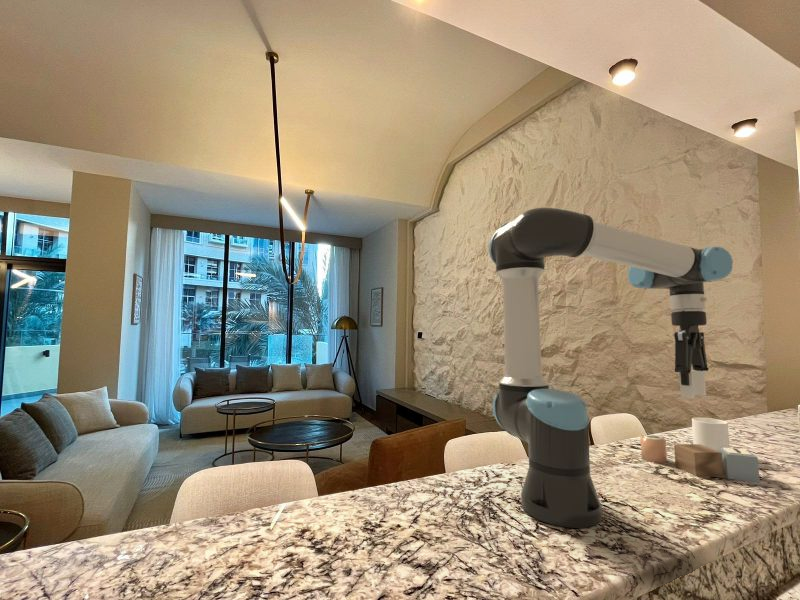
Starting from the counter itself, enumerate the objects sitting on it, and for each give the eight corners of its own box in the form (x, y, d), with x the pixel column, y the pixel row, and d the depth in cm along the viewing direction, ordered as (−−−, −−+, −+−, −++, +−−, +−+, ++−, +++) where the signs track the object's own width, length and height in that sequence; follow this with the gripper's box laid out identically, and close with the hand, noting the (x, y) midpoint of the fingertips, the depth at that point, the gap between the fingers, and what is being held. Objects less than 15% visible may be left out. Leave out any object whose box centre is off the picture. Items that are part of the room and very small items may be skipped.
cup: (688, 453, 113) (686, 419, 114) (708, 448, 118) (706, 415, 119) (722, 462, 105) (719, 425, 106) (742, 455, 111) (739, 420, 112)
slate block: (728, 478, 94) (726, 451, 94) (719, 470, 99) (718, 445, 100) (759, 482, 91) (757, 455, 92) (749, 474, 96) (747, 448, 97)
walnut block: (695, 477, 95) (694, 452, 95) (675, 467, 102) (674, 444, 102) (723, 477, 95) (721, 452, 95) (701, 467, 102) (699, 444, 102)
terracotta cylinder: (647, 462, 105) (646, 438, 106) (637, 455, 111) (636, 433, 111) (671, 464, 104) (669, 439, 104) (660, 457, 110) (659, 434, 110)
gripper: (690, 308, 93) (696, 402, 91) (718, 311, 105) (724, 394, 103) (655, 310, 99) (661, 398, 97) (686, 312, 111) (691, 391, 109)
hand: (693, 396), depth 100 cm, fingers open, 8 cm apart
